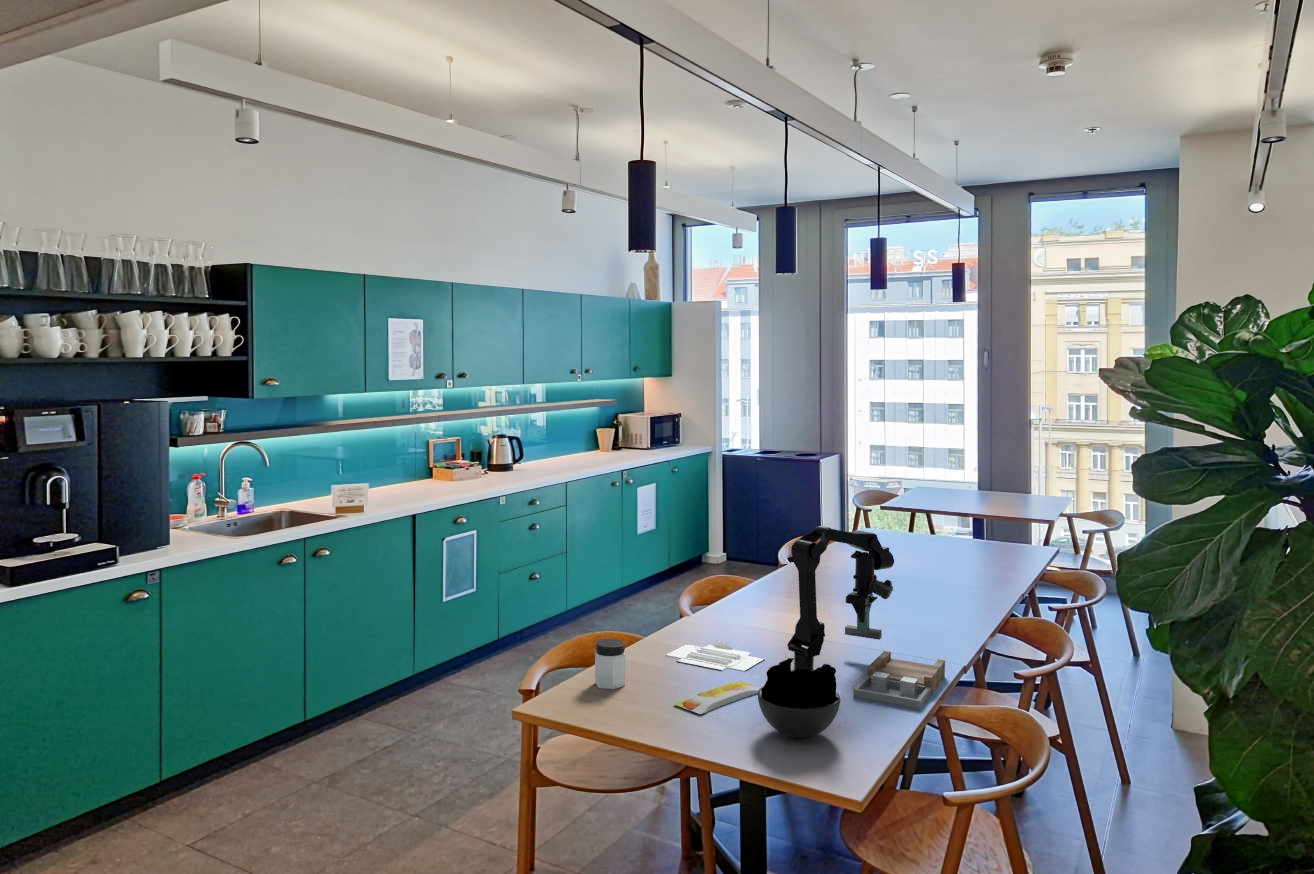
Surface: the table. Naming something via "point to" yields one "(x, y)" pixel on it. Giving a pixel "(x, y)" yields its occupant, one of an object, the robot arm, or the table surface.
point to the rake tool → (863, 629)
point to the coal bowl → (799, 699)
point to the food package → (718, 697)
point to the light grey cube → (909, 686)
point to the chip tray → (891, 694)
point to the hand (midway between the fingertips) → (863, 621)
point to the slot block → (909, 670)
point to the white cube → (880, 681)
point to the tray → (715, 656)
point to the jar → (610, 664)
